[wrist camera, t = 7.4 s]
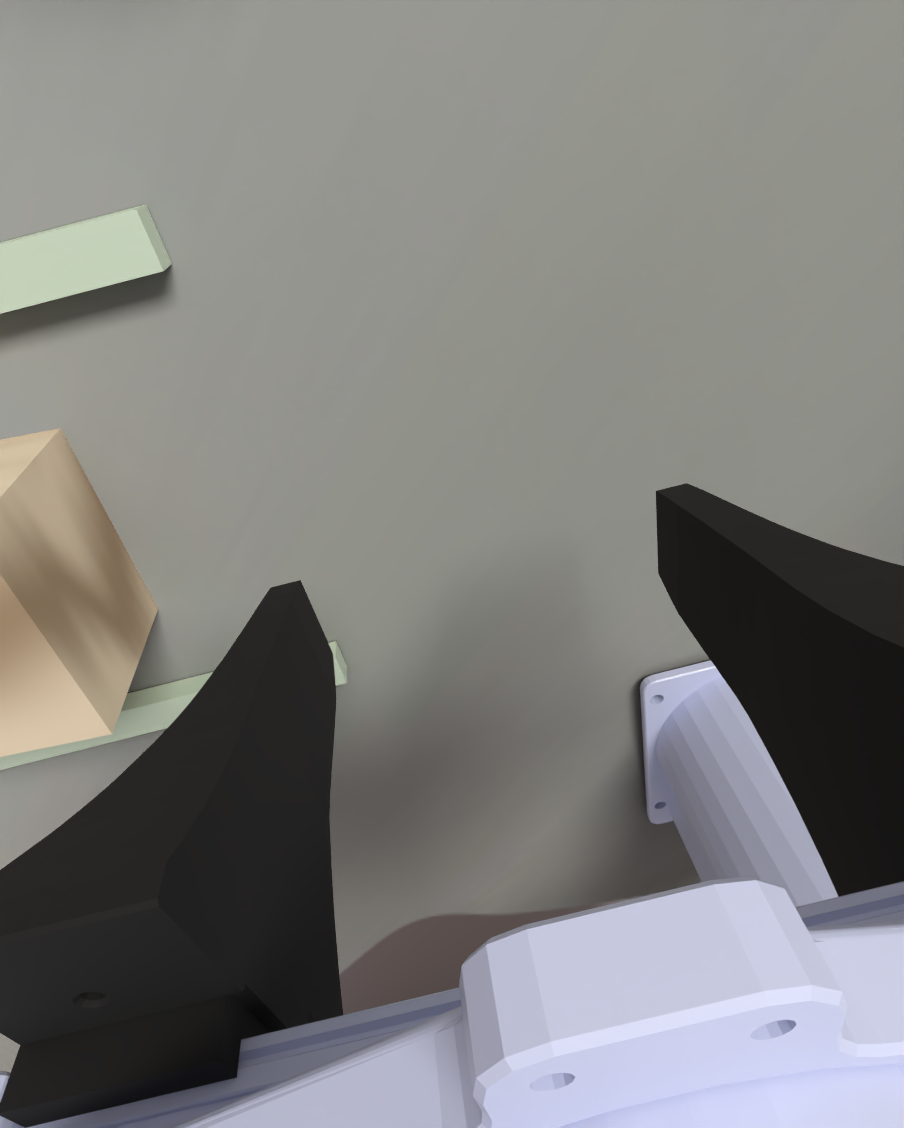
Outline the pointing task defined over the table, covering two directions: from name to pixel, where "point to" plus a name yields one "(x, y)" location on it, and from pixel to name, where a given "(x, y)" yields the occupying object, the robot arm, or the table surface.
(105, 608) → the block
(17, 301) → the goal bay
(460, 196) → the table surface
